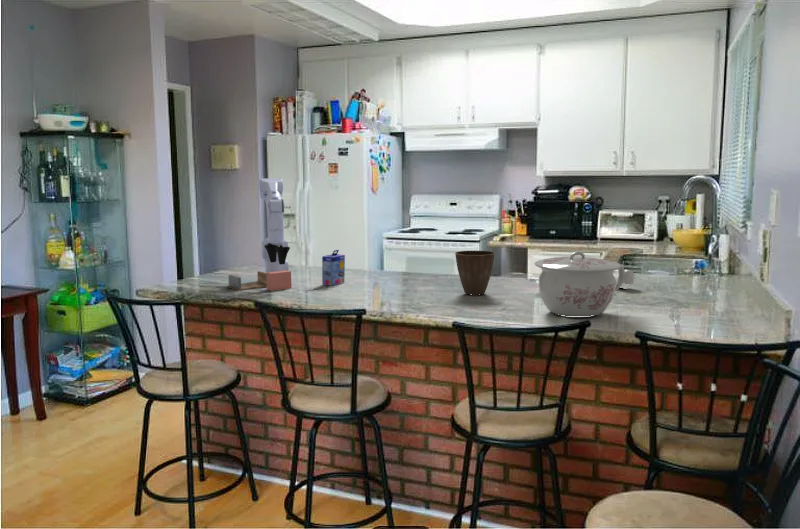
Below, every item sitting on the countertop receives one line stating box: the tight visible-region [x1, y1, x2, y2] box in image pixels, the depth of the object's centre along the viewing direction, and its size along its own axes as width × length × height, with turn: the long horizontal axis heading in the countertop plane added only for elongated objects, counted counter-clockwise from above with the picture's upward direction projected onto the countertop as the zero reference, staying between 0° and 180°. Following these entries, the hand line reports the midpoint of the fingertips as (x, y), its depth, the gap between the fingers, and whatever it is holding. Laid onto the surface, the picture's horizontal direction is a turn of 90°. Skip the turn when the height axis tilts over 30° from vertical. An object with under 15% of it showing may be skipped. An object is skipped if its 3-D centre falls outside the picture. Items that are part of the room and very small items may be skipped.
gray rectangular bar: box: [228, 274, 242, 289], centre depth 261 cm, size 1×9×4 cm, turn 39°
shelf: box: [227, 270, 267, 291], centre depth 266 cm, size 15×10×5 cm, turn 129°
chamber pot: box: [534, 251, 626, 316], centre depth 211 cm, size 28×28×21 cm
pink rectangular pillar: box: [265, 270, 292, 292], centre depth 261 cm, size 9×4×7 cm, turn 129°
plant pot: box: [454, 250, 496, 296], centre depth 247 cm, size 15×15×16 cm
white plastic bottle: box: [612, 269, 636, 286], centre depth 261 cm, size 8×19×8 cm, turn 31°
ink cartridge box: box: [321, 249, 346, 287], centre depth 270 cm, size 10×6×14 cm, turn 152°
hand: (277, 263), depth 260 cm, fingers open, 7 cm apart
